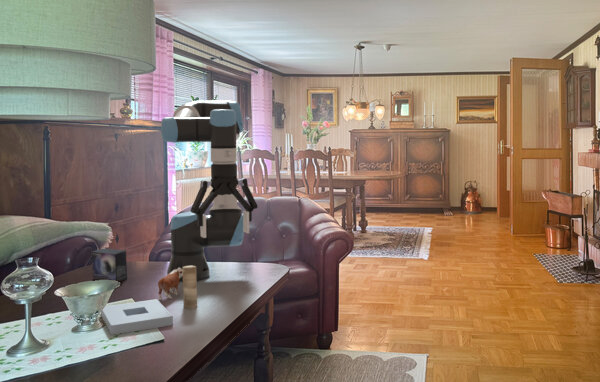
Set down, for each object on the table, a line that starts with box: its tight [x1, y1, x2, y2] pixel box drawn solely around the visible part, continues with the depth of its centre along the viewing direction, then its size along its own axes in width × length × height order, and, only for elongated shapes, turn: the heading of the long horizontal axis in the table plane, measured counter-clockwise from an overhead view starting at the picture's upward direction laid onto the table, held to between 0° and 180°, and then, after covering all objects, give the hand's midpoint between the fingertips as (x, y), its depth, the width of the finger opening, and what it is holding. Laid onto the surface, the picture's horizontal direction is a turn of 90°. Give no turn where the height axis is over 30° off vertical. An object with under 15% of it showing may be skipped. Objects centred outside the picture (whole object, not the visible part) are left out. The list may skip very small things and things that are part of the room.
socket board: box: [100, 298, 174, 336], centre depth 158 cm, size 18×16×2 cm
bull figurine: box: [157, 268, 183, 301], centre depth 182 cm, size 4×13×8 cm, turn 161°
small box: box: [91, 247, 128, 282], centre depth 203 cm, size 11×6×10 cm, turn 68°
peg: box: [182, 266, 198, 310], centre depth 170 cm, size 4×4×12 cm
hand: (225, 234), depth 168 cm, fingers open, 13 cm apart
